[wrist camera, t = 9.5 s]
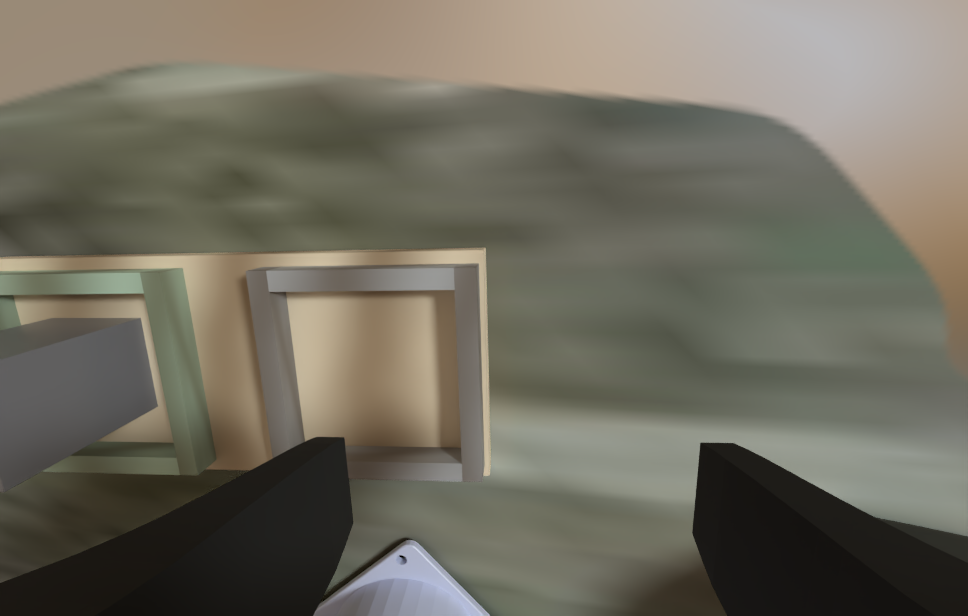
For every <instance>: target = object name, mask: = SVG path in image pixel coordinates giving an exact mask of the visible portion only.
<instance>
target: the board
mask: <svg viewBox="0 0 968 616" xmlns="http://www.w3.org/2000/svg"><path fill="white" fill-rule="evenodd" d="M50 318H141V322H142V327H143V332H144V337H145V342H146V348H147V353H148V358H149V363H150V368H151V373H152V378H153V383H154V388H155V394H156V399H157V404H158V407H156V408H154V409H153V410H151V411H149V412H147V413H146V414H144V415H142V416H140V417H138V418H137V419H135V420H133V421H131V422H129V423H128V424H126V425H124V426H122V427H120V428H119V429H117V430H115V431H113V432H111V433H110V434H108V435H106V436H104V437H102V438H101V439H99V440H97V441H95V442H94V443H92V444H90V445H88V446H86V447H85V448H83V449H81V450H79V451H77V452H76V453H74V454H72V455H70V456H68V457H67V458H65V459H63V460H61V461H59V462H58V463H56V464H54V465H52V466H51V467H49V468H47V469H45V470H43V471H42V472H71V473H114V474H157V475H199V474H200V473H201V472H203V471H204V470H205V469H212V470H252V469H254V468H256V467H258V466H260V465H261V464H263V463H265V462H267V461H269V460H271V459H272V458H274V457H276V456H278V455H280V454H282V453H283V452H285V451H287V450H289V449H291V448H293V447H295V446H297V445H299V444H301V443H303V442H305V441H307V440H310V439H312V438H315V437H344V439H345V448H346V458H347V468H348V477H349V479H372V480H415V481H458V482H482V481H483V475H484V476H490V467H491V441H490V401H489V360H488V320H487V280H486V248H440V249H387V250H334V251H281V252H228V253H175V254H122V255H69V256H16V257H0V330H4V329H8V328H12V327H17V326H21V325H25V324H29V323H33V322H37V321H41V320H46V319H50Z"/></svg>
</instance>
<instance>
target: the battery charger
mask: <svg viewBox="0 0 968 616" xmlns="http://www.w3.org/2000/svg"><path fill="white" fill-rule="evenodd" d="M877 519H879V518H877ZM879 520H881V521H883V522H885V523H887V524H889V525H891V526H893V527H895V528H897V529H899V530H901V531H903V532H905V533H907V534H909V535H911V536H913V537H915V538H917V539H919V540H921V541H923V542H925V543H927V544H929V545H931V546H933V547H935V548H937V549H939V550H942V551H944V552H946V553H948V554H950V555H952V556H954V557H957V558H959V559H961V560H963V561H965V562H967V563H968V537H967V536H962V535H957V534H953V533H948V532H943V531H939V530H934V529H929V528H924V527H920V526H915V525H910V524H905V523H900V522H895V521H889V520H884V519H879Z"/></svg>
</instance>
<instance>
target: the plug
mask: <svg viewBox="0 0 968 616" xmlns="http://www.w3.org/2000/svg"><path fill="white" fill-rule="evenodd" d="M156 407H158V404H157V399H156V394H155V388H154V383H153V378H152V373H151V368H150V363H149V358H148V353H147V348H146V342H145V337H144V332H143V327H142V322H141V318H50V319H46V320H41V321H37V322H33V323H29V324H25V325H21V326H17V327H12V328H8V329H4V330H0V492H6V491H7V490H9V489H11V488H13V487H15V486H16V485H18V484H20V483H22V482H24V481H25V480H27V479H29V478H31V477H33V476H34V475H36V474H38V473H40V472H42V471H43V470H45V469H47V468H49V467H51V466H52V465H54V464H56V463H58V462H59V461H61V460H63V459H65V458H67V457H68V456H70V455H72V454H74V453H76V452H77V451H79V450H81V449H83V448H85V447H86V446H88V445H90V444H92V443H94V442H95V441H97V440H99V439H101V438H102V437H104V436H106V435H108V434H110V433H111V432H113V431H115V430H117V429H119V428H120V427H122V426H124V425H126V424H128V423H129V422H131V421H133V420H135V419H137V418H138V417H140V416H142V415H144V414H146V413H147V412H149V411H151V410H153V409H154V408H156Z"/></svg>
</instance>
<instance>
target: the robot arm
mask: <svg viewBox="0 0 968 616" xmlns="http://www.w3.org/2000/svg"><path fill="white" fill-rule="evenodd" d="M352 525H353V515H352V506H351V496H350V487H349V477H348V468H347V458H346V448H345V439H344V437H315V438H312V439H310V440H307V441H305V442H303V443H301V444H299V445H297V446H295V447H293V448H291V449H289V450H287V451H285V452H283V453H282V454H280V455H278V456H276V457H274V458H272V459H271V460H269V461H267V462H265V463H263V464H261V465H260V466H258V467H256V468H254V469H252V470H250V471H249V472H247V473H245V474H243V475H241V476H239V477H238V478H236V479H234V480H232V481H230V482H228V483H227V484H225V485H223V486H221V487H219V488H217V489H215V490H213V491H211V492H209V493H207V494H205V495H203V496H201V497H199V498H197V499H195V500H193V501H191V502H189V503H187V504H186V505H184V506H182V507H180V508H178V509H176V510H174V511H172V512H170V513H168V514H166V515H164V516H162V517H160V518H158V519H156V520H153V521H151V522H149V523H147V524H145V525H143V526H141V527H138V528H136V529H134V530H132V531H130V532H127V533H125V534H123V535H121V536H118V537H116V538H114V539H111V540H109V541H107V542H104V543H102V544H100V545H97V546H95V547H93V548H90V549H88V550H86V551H83V552H81V553H78V554H76V555H73V556H71V557H69V558H66V559H63V560H61V561H58V562H55V563H53V564H50V565H47V566H45V567H42V568H39V569H37V570H34V571H31V572H29V573H26V574H23V575H21V576H18V577H15V578H13V579H10V580H7V581H5V582H2V583H0V616H490V615H489V614H488V613H487V612H486V611H485V610H484V609H483V608H482V607H481V606H480V605H479V604H478V603H477V602H476V601H475V600H474V599H473V598H472V597H471V596H470V595H469V594H468V593H467V592H466V591H465V590H464V589H463V588H462V587H461V586H460V585H459V584H458V583H457V582H456V581H455V580H454V579H453V578H452V577H451V576H450V575H449V574H448V573H447V572H446V571H445V570H444V569H443V568H442V567H441V566H440V565H439V564H438V563H437V562H436V561H435V560H434V559H433V558H432V557H431V556H430V555H429V554H428V553H427V552H426V551H425V550H424V549H423V548H422V547H421V546H420V545H419V544H418V543H417V542H416V541H413V540H406V541H404V542H403V543H401V544H400V545H398V546H397V547H396V548H394V549H393V550H392V551H390V552H389V553H388V554H386V555H385V556H384V557H382V558H381V559H380V560H378V561H377V562H375V563H374V564H373V565H371V566H370V567H369V568H367V569H366V570H365V571H363V572H362V573H361V574H359V575H358V576H357V577H355V578H354V579H353V580H351V581H350V582H348V583H347V584H346V585H344V586H343V587H342V588H340V589H339V590H338V591H336V592H335V593H334V594H332V595H331V596H330V597H328V598H327V599H325V600H324V601H323V602H321V603H320V601H321V599H322V597H323V595H324V593H325V591H326V589H327V587H328V585H329V583H330V581H331V579H332V577H333V575H334V573H335V571H336V569H337V566H338V563H339V561H340V558H341V556H342V553H343V550H344V548H345V545H346V542H347V539H348V536H349V533H350V530H351V528H352ZM692 533H693V536H694V539H695V542H696V544H697V547H698V550H699V553H700V555H701V558H702V561H703V564H704V566H705V569H706V571H707V574H708V576H709V579H710V581H711V584H712V586H713V588H714V590H715V592H716V594H717V596H718V598H719V600H720V602H721V604H722V606H723V608H724V610H725V612H726V614H727V616H968V563H967V562H965V561H963V560H961V559H959V558H957V557H954V556H952V555H950V554H948V553H946V552H944V551H942V550H939V549H937V548H935V547H933V546H931V545H929V544H927V543H925V542H923V541H921V540H919V539H917V538H915V537H913V536H911V535H909V534H907V533H905V532H903V531H901V530H899V529H897V528H895V527H893V526H891V525H889V524H887V523H885V522H883V521H881V520H879V519H877V518H875V517H873V516H871V515H869V514H867V513H865V512H863V511H861V510H859V509H857V508H856V507H854V506H852V505H850V504H848V503H846V502H844V501H842V500H840V499H839V498H837V497H835V496H833V495H831V494H829V493H828V492H826V491H824V490H822V489H820V488H818V487H816V486H815V485H813V484H811V483H809V482H807V481H805V480H804V479H802V478H800V477H798V476H796V475H795V474H793V473H791V472H789V471H787V470H785V469H784V468H782V467H780V466H778V465H776V464H774V463H773V462H771V461H769V460H767V459H765V458H763V457H761V456H759V455H757V454H755V453H753V452H751V451H749V450H747V449H745V448H743V447H741V446H738V445H736V444H734V443H701V444H700V455H699V466H698V477H697V488H696V499H695V510H694V521H693V532H692ZM399 555H402V556H404V557H406V558H401V557H399ZM319 603H320V604H319Z"/></svg>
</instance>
